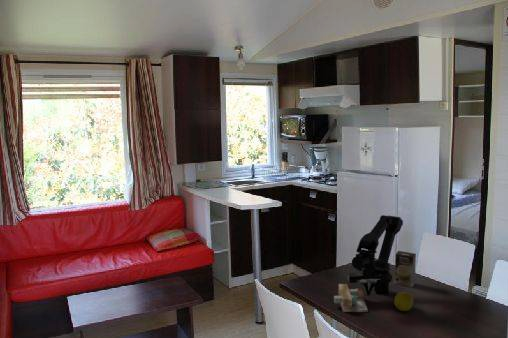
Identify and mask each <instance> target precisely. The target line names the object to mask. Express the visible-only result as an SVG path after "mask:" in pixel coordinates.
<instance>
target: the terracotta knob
mask: <svg viewBox="0 0 508 338" xmlns="http://www.w3.org/2000/svg"><path fill="white" fill-rule="evenodd" d="M348 289H349V292H350V295H351V294H352V295H356V296H357V297H358V298H363V299H364V289H363V287H357V288H354V289H353V288H348Z"/></svg>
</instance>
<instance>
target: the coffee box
mask: <svg viewBox="0 0 508 338" xmlns="http://www.w3.org/2000/svg"><path fill="white" fill-rule="evenodd" d="M416 254H417V253H415V252H414V253H413V252H409V251H401V250H398V251H397V252H396V253H395V265H394V267H395V268H394V284H395V285H400V286H403V287H404V286H406V287H410V288H413V286H414V285H415V283H416V258H417V255H416Z"/></svg>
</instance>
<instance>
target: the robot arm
mask: <svg viewBox="0 0 508 338" xmlns="http://www.w3.org/2000/svg"><path fill="white" fill-rule="evenodd" d="M403 224H404V221H403V219H402V218H401V217H400V216H395V215H384V214H383V215H380V216H379V220H378V221H377V223H376V224H375V225H374V226H373V227H372V229H371V230H370V232H368V233H366V234H364V235H363V236H362V237H361V238H360V240H359V243H358V245H357V249H356V254H355V256H354V257H353V258H352V259H351V266H352V267H353V268H354V269H356V272H360V274H361V275H357V273H355V272H351V273H349V272H348V274H347V280H348V283H350V284H357V283H358V281H359V282H360V284H361V285H362V286H363V287H364V289H365V292H366V296H368V297H369V296H370V295H371V294H372V291H374V293H375V294H376V295H390V292H389V291H390V289H389V287H390V286H389V284H390V283H391V282H392V281H393V275H392V274H391V272H390V271H391V269H390V265H389V260H390V256H391V251H392V249H393V245H394V241H395V237H396V235H397V234H398V233H399V232H400V231H401V228H402V227H403ZM383 234H384V237H383V240H382V244H381V247H380V250H379V255H378V257H377V259H376V253H377V248H378V247H379V244H380V243H379V240H380V238H381V237H382V235H383Z"/></svg>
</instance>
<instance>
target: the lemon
mask: <svg viewBox="0 0 508 338" xmlns="http://www.w3.org/2000/svg"><path fill="white" fill-rule="evenodd" d="M393 300H394V302H393V303H394V306H395V307H396V309H398V310H399V311H400V312H406V311H407V312H408V311H409V310H411V309H412V308H413V306H414V298H413V296H412V294H410V293H409V292H406V291H402V292H399V293H397V294H396V295H395V296H394V299H393Z"/></svg>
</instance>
